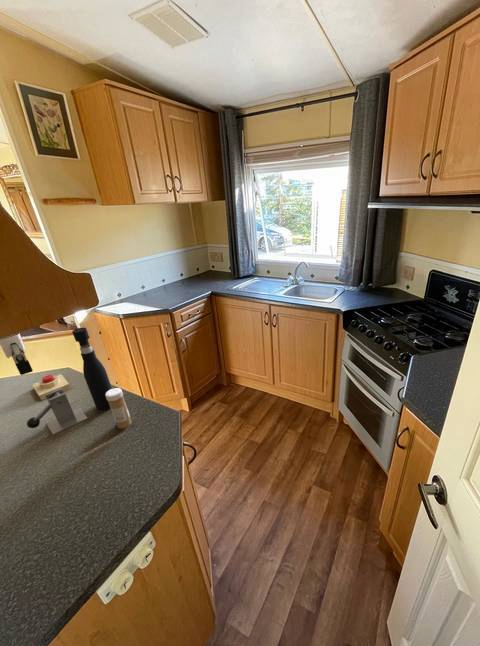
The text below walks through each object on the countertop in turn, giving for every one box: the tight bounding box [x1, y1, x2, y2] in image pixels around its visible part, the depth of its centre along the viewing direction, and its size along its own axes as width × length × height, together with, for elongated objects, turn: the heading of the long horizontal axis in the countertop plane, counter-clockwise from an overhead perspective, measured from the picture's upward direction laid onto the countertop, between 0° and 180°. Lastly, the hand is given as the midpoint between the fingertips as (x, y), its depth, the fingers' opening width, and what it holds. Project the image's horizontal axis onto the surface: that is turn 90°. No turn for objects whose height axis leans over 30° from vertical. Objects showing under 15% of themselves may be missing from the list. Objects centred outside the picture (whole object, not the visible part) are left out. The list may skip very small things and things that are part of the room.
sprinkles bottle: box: [105, 387, 133, 429], centre depth 91 cm, size 5×5×14 cm
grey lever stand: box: [45, 388, 88, 436], centre depth 94 cm, size 10×8×12 cm
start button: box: [41, 374, 54, 383], centre depth 114 cm, size 4×4×2 cm
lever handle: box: [26, 392, 60, 429], centre depth 90 cm, size 12×3×3 cm
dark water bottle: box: [71, 327, 113, 412], centre depth 96 cm, size 6×6×30 cm
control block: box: [31, 373, 71, 401], centre depth 115 cm, size 12×10×4 cm
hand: (24, 367), depth 95 cm, fingers open, 9 cm apart
